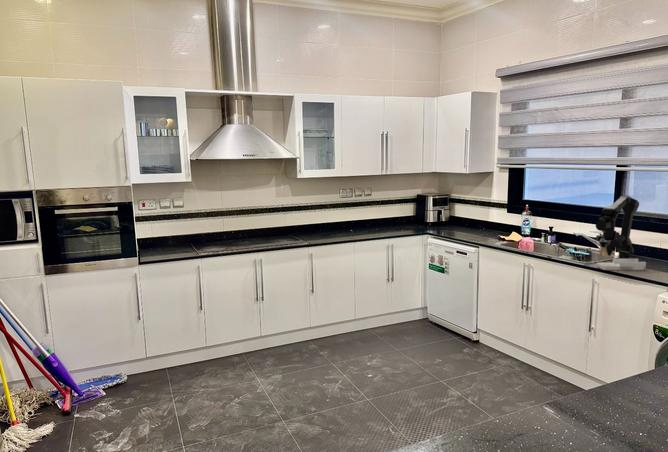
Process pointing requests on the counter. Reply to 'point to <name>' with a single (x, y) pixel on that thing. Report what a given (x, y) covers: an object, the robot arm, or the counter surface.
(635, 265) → the trap channel
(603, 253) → the wooden block
